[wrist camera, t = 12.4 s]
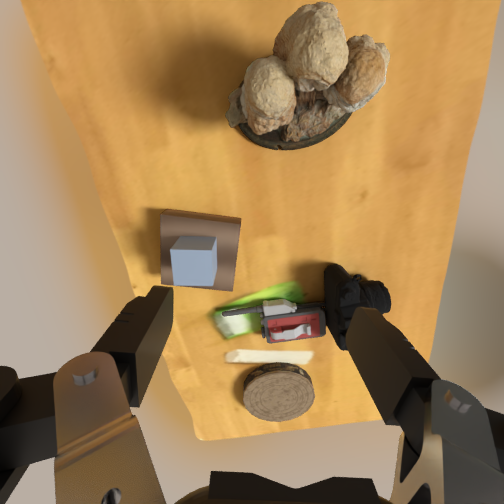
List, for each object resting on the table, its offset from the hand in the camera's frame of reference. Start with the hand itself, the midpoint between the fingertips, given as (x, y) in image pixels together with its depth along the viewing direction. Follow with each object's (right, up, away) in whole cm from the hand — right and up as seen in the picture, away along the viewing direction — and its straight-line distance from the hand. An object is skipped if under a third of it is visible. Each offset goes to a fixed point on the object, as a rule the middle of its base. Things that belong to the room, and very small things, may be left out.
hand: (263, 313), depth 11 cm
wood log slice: (+5, -29, +46) cm, 54 cm away
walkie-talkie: (+4, -10, +37) cm, 39 cm away
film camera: (+17, -5, +35) cm, 40 cm away
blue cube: (-9, +3, +28) cm, 29 cm away
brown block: (-9, +4, +32) cm, 33 cm away
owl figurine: (+5, +23, +23) cm, 33 cm away
